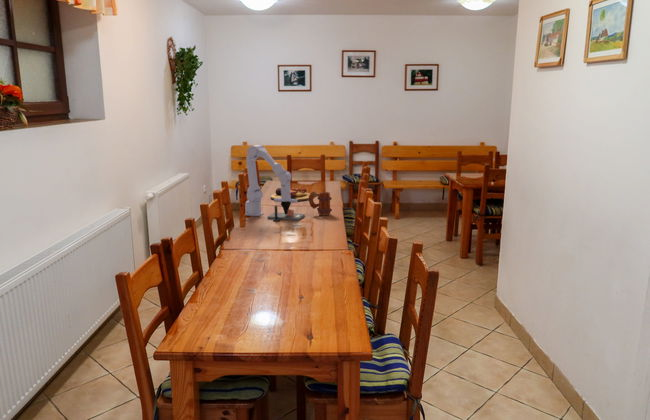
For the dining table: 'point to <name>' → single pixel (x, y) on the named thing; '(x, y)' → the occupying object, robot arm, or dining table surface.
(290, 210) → the knob
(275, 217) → the post
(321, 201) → the mug
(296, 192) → the wooden plate with food
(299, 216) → the breaker panel
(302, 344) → the dining table surface
